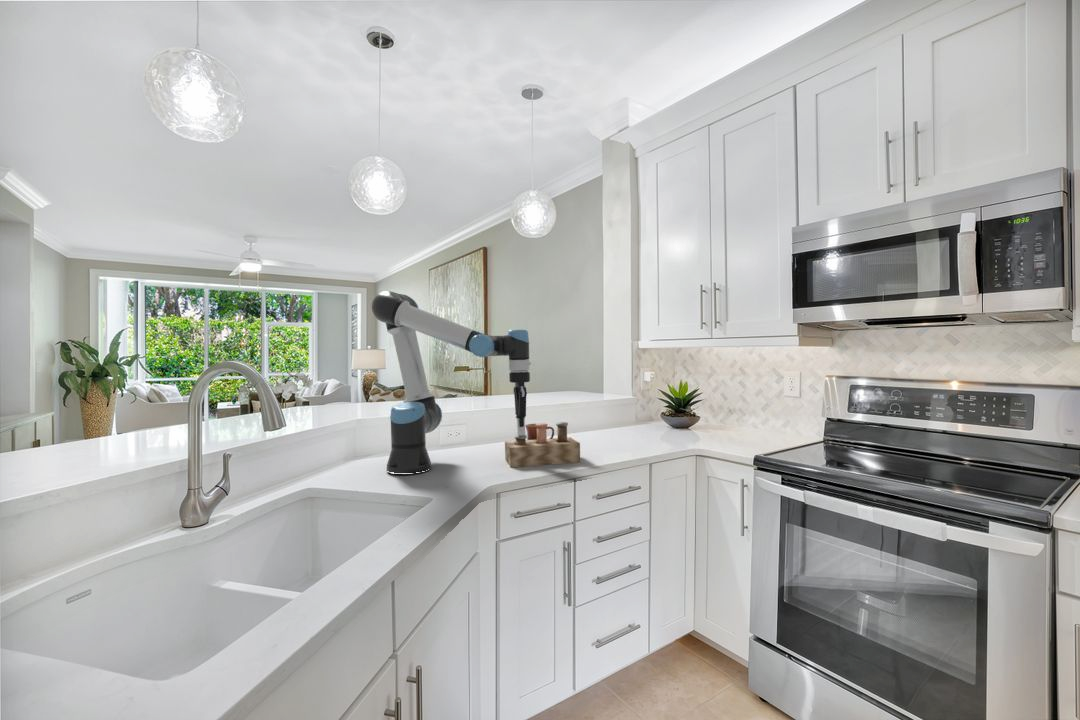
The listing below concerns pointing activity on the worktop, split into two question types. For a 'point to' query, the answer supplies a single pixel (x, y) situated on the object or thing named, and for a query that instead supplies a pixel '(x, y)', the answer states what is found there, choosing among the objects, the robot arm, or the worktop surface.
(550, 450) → the socket board
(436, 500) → the worktop surface
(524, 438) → the plug near
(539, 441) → the plug mid
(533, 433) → the mug
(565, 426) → the plug far
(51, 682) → the worktop surface
